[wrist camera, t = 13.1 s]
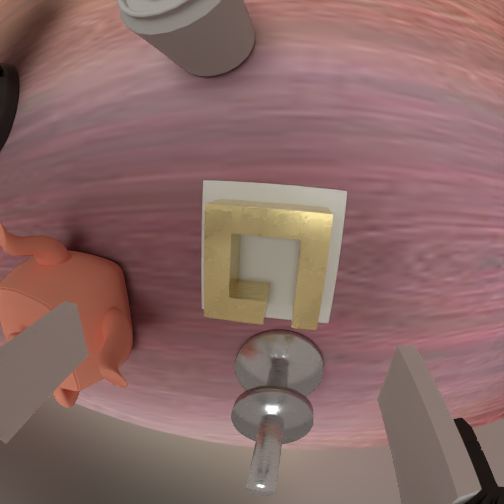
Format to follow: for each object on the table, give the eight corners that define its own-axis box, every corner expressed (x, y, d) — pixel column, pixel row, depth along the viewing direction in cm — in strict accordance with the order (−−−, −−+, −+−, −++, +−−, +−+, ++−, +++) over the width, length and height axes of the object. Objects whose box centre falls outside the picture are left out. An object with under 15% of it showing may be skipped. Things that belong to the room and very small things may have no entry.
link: (219, 198, 24) (204, 203, 21) (327, 207, 23) (333, 214, 19) (216, 296, 27) (204, 316, 23) (314, 307, 26) (316, 330, 22)
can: (266, 17, 20) (242, -65, 8) (243, 85, 22) (199, 24, 11) (190, 11, 20) (134, -55, 9) (167, 74, 23) (88, 29, 11)
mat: (205, 180, 25) (203, 180, 24) (345, 190, 23) (347, 191, 23) (203, 306, 28) (201, 308, 28) (327, 320, 27) (328, 323, 26)
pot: (81, 190, 27) (-11, 209, 15) (183, 316, 29) (122, 394, 17) (28, 283, 32) (-35, 318, 21) (103, 378, 34) (54, 434, 22)
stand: (238, 324, 28) (189, 444, 14) (330, 334, 27) (345, 462, 13) (235, 390, 31) (200, 501, 16) (314, 399, 29) (313, 515, 15)
